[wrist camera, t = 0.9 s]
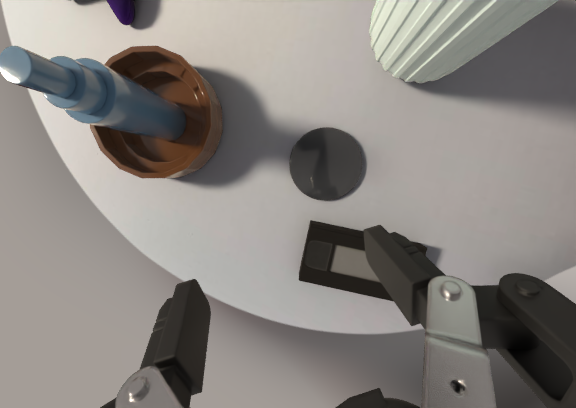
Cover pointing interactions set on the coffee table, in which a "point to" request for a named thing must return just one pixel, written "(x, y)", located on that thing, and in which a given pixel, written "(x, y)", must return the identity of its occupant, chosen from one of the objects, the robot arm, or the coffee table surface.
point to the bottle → (95, 93)
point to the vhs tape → (341, 260)
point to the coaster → (325, 163)
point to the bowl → (180, 89)
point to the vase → (442, 32)
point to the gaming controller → (123, 10)
